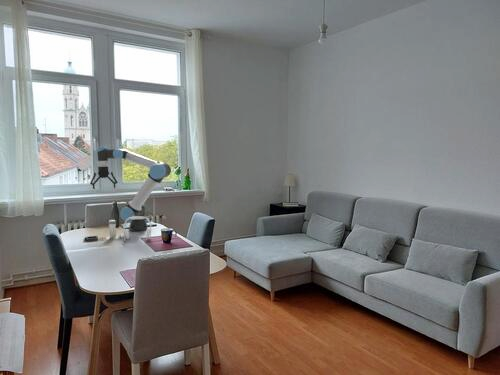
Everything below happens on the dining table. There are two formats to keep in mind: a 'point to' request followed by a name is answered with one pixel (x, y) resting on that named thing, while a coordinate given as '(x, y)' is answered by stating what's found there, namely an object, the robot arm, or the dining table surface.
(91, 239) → the cable board
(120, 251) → the dining table surface
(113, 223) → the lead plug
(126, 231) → the headset
